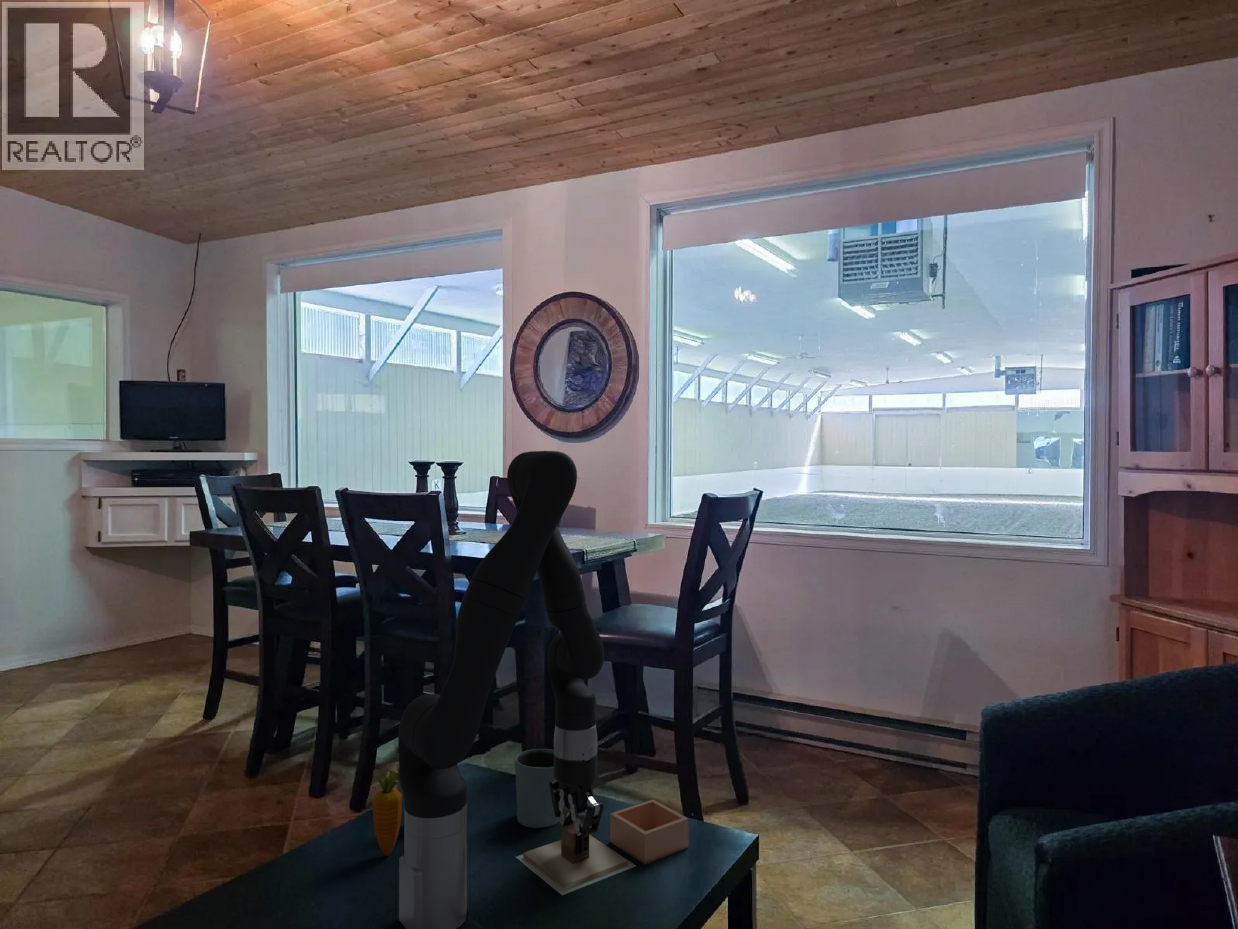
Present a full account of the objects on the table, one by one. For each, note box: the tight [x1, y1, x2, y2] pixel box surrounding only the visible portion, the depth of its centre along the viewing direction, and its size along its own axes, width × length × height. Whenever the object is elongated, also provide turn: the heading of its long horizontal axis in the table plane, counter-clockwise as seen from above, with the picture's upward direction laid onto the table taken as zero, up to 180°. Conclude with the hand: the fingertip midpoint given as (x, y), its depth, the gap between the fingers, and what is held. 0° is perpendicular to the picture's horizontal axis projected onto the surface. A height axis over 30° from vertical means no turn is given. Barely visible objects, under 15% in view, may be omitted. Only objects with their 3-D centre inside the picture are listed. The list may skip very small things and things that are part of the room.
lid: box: [523, 821, 629, 890], centre depth 132 cm, size 13×13×6 cm
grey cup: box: [514, 748, 560, 829], centre depth 149 cm, size 10×10×12 cm
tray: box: [515, 848, 637, 896], centre depth 132 cm, size 15×15×1 cm
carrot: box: [372, 769, 403, 857], centre depth 135 cm, size 5×5×15 cm
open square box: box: [609, 799, 689, 865], centre depth 138 cm, size 10×10×6 cm
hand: (575, 849), depth 132 cm, fingers closed on lid, 3 cm apart
